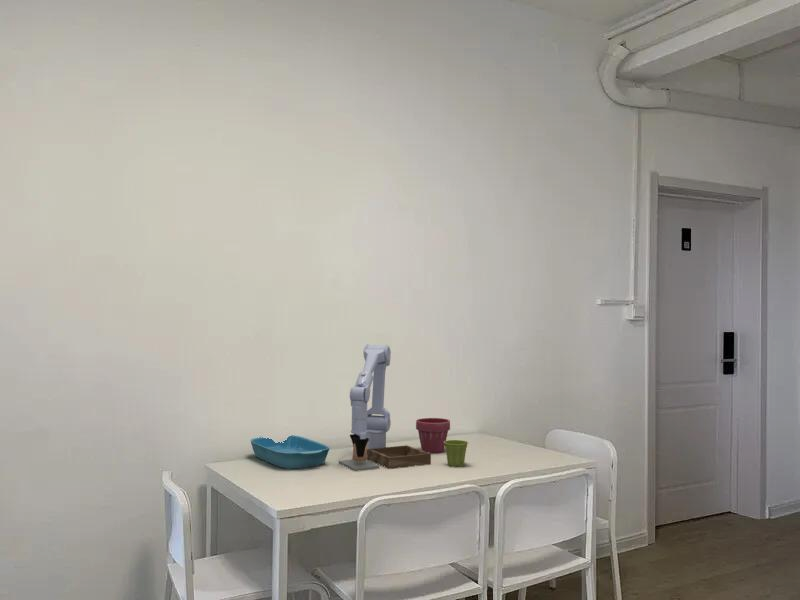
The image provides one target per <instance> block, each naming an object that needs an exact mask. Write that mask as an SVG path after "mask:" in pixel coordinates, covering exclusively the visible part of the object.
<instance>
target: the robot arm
mask: <svg viewBox="0 0 800 600" xmlns="http://www.w3.org/2000/svg"><path fill="white" fill-rule="evenodd" d="M390 347H391V346H389V345H388V344H386V345H380V344H378V345H376V344H366V345H365V346H364V348H363V358H364V365H363V370H362V371H360V372H359V373H358V376H357V379H356V382H355V385H354V386H353V387H351V388H350V390H349V400H350V407H351V430H350V432H351V434H349V437H350V439H351V443H352V445H353V444H354V443H355V445H356V451H357V457H363V456H364V452H365V447H366V445H367V449H373V448H384V447H387V433H388V432H389V430H390V428H391V423H392V422H391V413H390V412H389V410H387V409H386V408H385V407H384V406H385V405H384V404H385V388H386V387H385V386H386V385H385V383H386V370H387V367H389V366H390V364H391V348H390ZM371 387H372V392H371ZM371 393H372V395H371ZM370 397H372V398H370ZM370 399H371V407H370V408H369V409H368V403H369V401H370Z"/></svg>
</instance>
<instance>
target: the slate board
mask: <svg viewBox="0 0 800 600" xmlns="http://www.w3.org/2000/svg"><path fill="white" fill-rule="evenodd" d="M338 465H341V466H343V465H344V466H343V467H345V466H346V467H345V468H347V467H348V468H347V469H349V468H350V469H349V470H351V469H352V471H353V470H354V471H353V472H359V471H358V470H361V471H368V470H367V469H370V470H376V469H375V468H379V469H380V465H379V464H377V463H374V462H372V461H370V460H367V459H366V461H354V460H352V459H343V460H338Z"/></svg>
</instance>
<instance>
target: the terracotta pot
mask: <svg viewBox="0 0 800 600" xmlns="http://www.w3.org/2000/svg"><path fill="white" fill-rule="evenodd" d="M352 447H353V448H352V459H351V460H354V461H366V460H367V445H366V447H365V452H364V456H363V457H357V451H356V445H355V443H354V444H353V443H352Z"/></svg>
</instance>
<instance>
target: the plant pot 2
mask: <svg viewBox="0 0 800 600" xmlns="http://www.w3.org/2000/svg"><path fill="white" fill-rule="evenodd" d="M444 444H445V447H444V448H445V452H446V460H447V465H448V464H449V465H448V466H449V467H458V466H459V467H462V466H464V465H465V459H466V452H467V448H468V445H469V441H467V440H461V439H449V440H447V439H446V441H444Z"/></svg>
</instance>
